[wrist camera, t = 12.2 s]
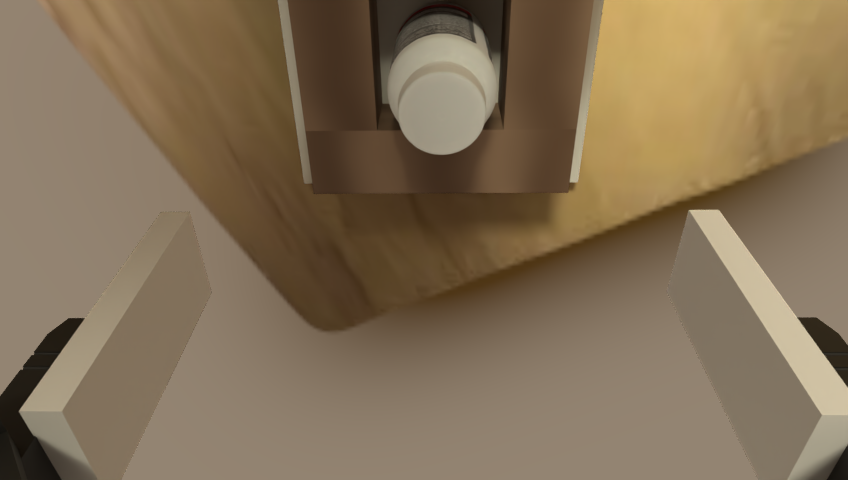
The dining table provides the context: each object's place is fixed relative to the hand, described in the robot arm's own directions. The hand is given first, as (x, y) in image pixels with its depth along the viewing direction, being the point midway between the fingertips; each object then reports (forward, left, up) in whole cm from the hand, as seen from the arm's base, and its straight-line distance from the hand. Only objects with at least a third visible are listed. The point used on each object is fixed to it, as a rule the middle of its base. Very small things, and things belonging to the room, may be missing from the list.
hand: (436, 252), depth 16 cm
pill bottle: (0, -1, -22) cm, 22 cm away
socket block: (0, -1, -23) cm, 23 cm away
